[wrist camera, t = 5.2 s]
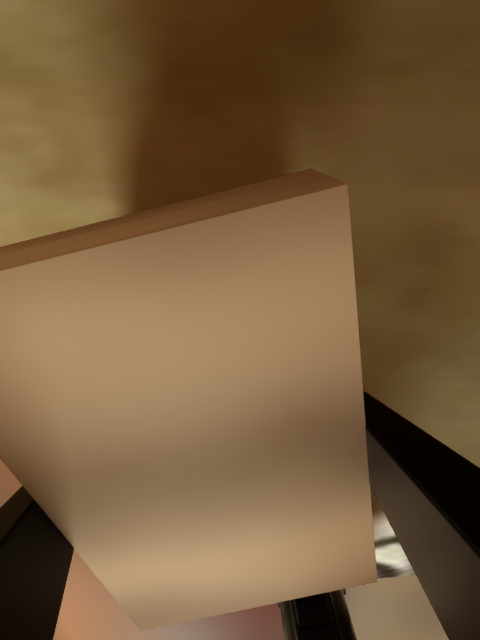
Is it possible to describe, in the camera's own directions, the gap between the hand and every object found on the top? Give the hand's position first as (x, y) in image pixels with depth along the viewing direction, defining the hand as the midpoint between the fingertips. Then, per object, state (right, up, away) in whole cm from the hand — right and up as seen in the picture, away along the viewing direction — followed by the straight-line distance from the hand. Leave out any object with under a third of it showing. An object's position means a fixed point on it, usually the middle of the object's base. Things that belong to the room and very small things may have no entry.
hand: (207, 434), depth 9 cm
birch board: (0, 0, 0) cm, 0 cm away
